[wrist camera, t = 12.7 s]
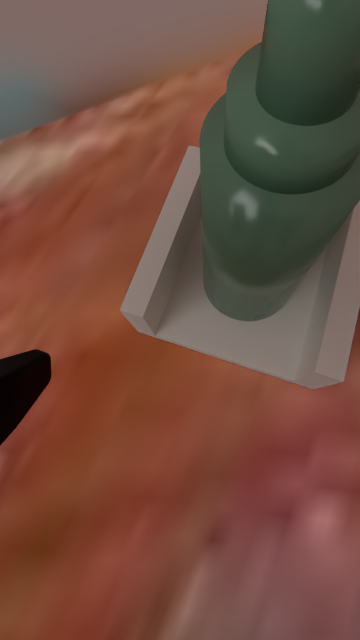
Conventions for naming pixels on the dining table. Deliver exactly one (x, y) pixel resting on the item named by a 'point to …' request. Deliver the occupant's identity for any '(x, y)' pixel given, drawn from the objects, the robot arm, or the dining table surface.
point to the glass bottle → (281, 156)
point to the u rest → (234, 335)
